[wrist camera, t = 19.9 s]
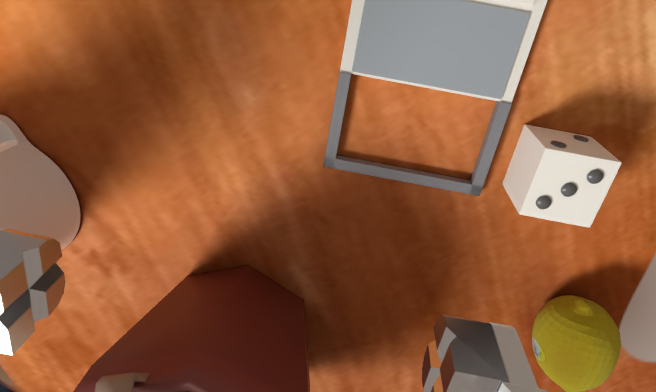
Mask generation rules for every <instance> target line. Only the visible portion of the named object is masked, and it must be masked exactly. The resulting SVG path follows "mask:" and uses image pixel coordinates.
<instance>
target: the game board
mask: <svg viewBox="0 0 656 392" xmlns="http://www.w3.org/2000/svg"><path fill="white" fill-rule="evenodd" d="M546 3H547V0H352V5H351V10H350V16H349V22H348V28H347V33H346V39H345V45H344V51H343V57H342V62H341V68H340V73H339V79H338V85H337V91H336V96H335V102H334V108H333V114H332V120H331V125H330V131H329V137H328V143H327V148H326V154H325V160H324V166H323V167H328V168H334V169H339V170H344V171H349V172H355V173H360V174H365V175H371V176H376V177H381V178H386V179H392V180H397V181H402V182H408V183H413V184H418V185H423V186H429V187H434V188H439V189H445V190H450V191H455V192H460V193H466V194H471V195H476V196H480V193H481V190H482V187H483V185H484V182H485V179H486V176H487V173H488V170H489V168H490V165H491V162H492V159H493V156H494V153H495V151H496V148H497V145H498V142H499V139H500V136H501V134H502V131H503V128H504V125H505V122H506V119H507V116H508V114H509V111H510V108H511V105H512V104H511V103H512V100H513V97H514V94H515V91H516V89H517V86H518V83H519V80H520V77H521V74H522V72H523V69H524V66H525V63H526V60H527V57H528V54H529V52H530V49H531V46H532V43H533V40H534V37H535V35H536V32H537V29H538V26H539V23H540V20H541V18H542V15H543V12H544V9H545V6H546ZM351 74H355V75H361V76H366V77H372V78H377V79H382V80H388V81H393V82H398V83H404V84H409V85H414V86H420V87H425V88H430V89H436V90H441V91H447V92H452V93H457V94H463V95H468V96H473V97H479V98H484V99H489V100H495V101H497V102H496V105H495V108H494V111H493V114H492V117H491V120H490V123H489V126H488V129H487V132H486V135H485V138H484V141H483V144H482V147H481V150H480V153H479V156H478V159H477V162H476V165H475V168H474V171H473V174H472V177H471V180H466V179H461V178H456V177H450V176H445V175H440V174H435V173H429V172H424V171H419V170H413V169H408V168H403V167H397V166H392V165H387V164H382V163H376V162H371V161H366V160H360V159H355V158H350V157H344V156H339V155H336V154H337V149H338V143H339V138H340V132H341V127H342V122H343V116H344V111H345V105H346V100H347V95H348V89H349V84H350V78H351Z"/></svg>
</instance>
